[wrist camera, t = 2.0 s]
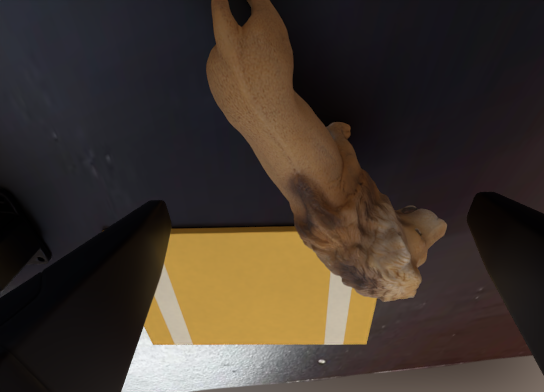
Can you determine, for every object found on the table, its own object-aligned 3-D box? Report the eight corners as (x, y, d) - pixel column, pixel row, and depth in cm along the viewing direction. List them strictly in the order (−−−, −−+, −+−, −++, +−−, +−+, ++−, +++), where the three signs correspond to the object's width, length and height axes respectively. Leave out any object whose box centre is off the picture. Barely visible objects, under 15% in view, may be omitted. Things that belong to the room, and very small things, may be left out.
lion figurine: (406, 162, 18) (490, 287, 11) (332, 209, 21) (361, 339, 13) (222, -84, 12) (136, -167, 5) (144, 19, 14) (4, 68, 7)
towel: (154, 338, 30) (152, 345, 30) (102, 229, 22) (98, 235, 22) (365, 338, 29) (366, 344, 29) (390, 223, 21) (393, 230, 21)
